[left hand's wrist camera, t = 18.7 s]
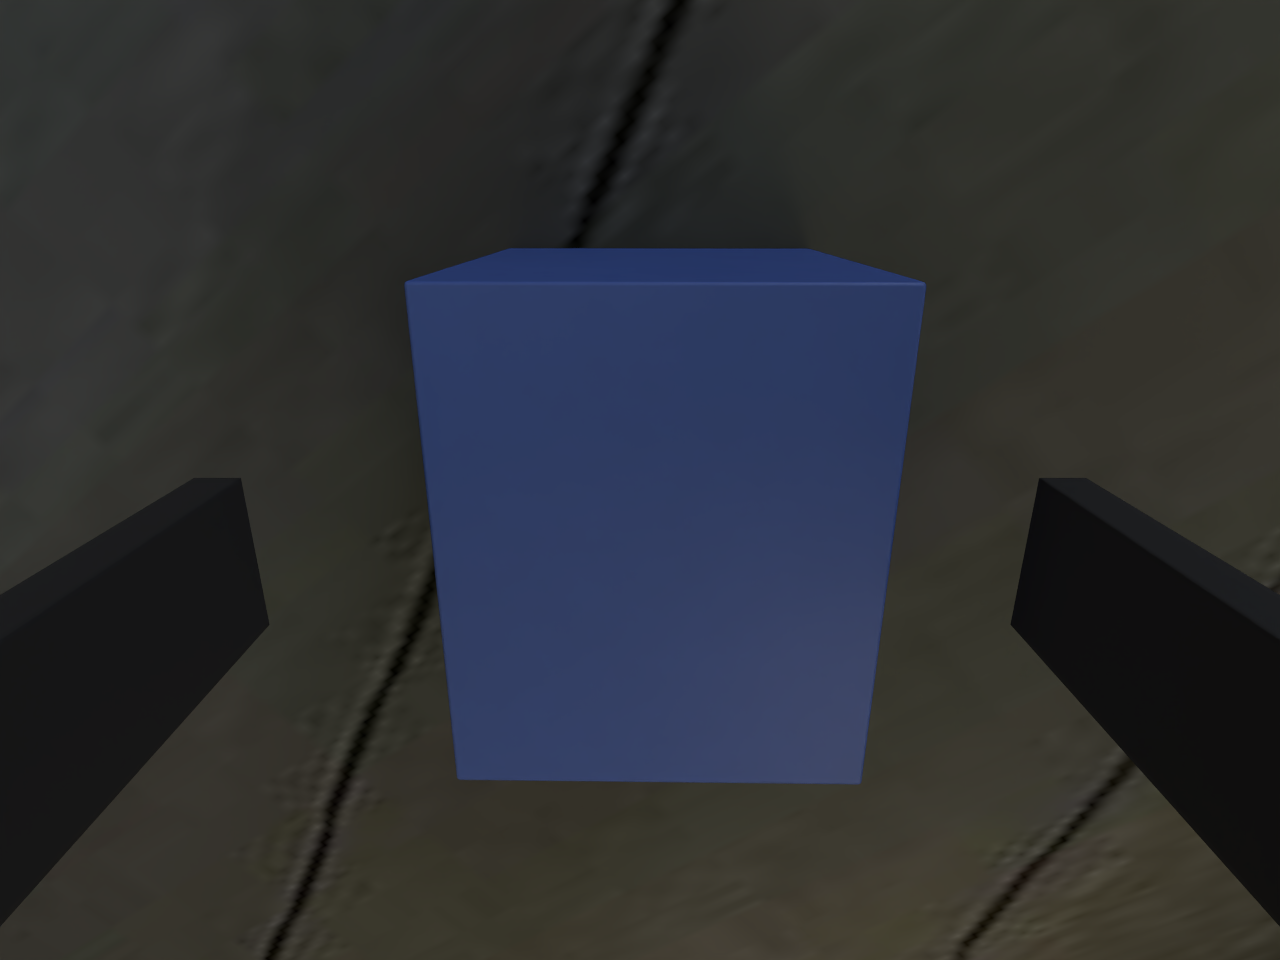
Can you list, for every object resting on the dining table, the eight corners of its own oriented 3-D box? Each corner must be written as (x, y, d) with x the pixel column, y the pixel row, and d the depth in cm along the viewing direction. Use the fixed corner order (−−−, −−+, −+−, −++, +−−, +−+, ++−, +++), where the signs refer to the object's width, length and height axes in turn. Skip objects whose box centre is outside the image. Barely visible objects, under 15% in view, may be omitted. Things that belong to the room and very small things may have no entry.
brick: (810, 248, 18) (928, 281, 10) (785, 574, 21) (862, 786, 13) (507, 248, 18) (402, 281, 10) (527, 572, 21) (456, 781, 14)
